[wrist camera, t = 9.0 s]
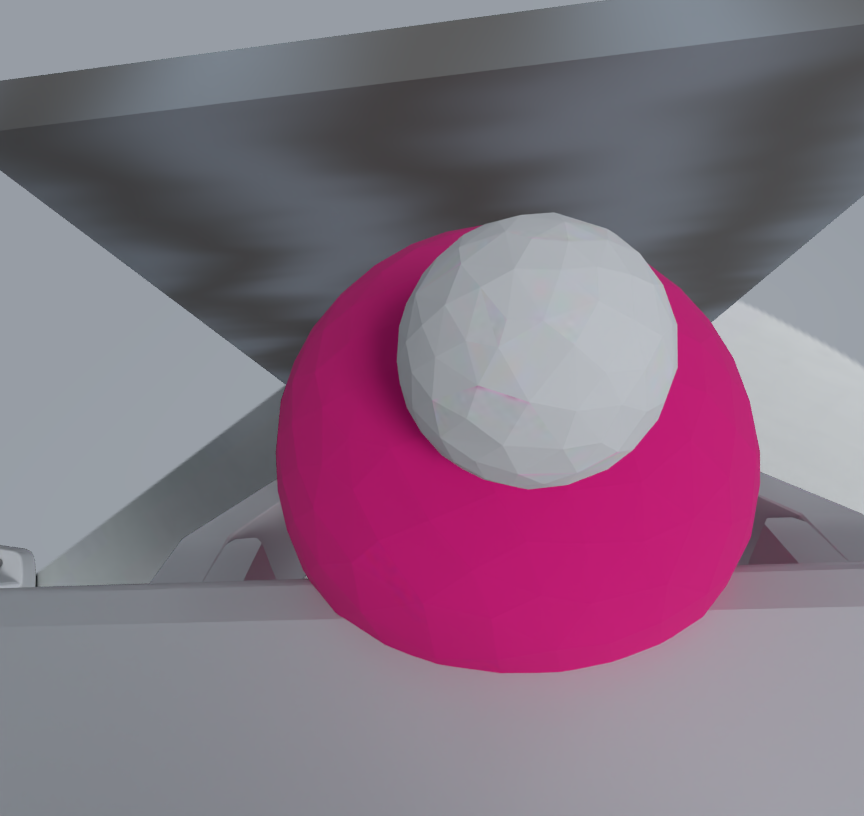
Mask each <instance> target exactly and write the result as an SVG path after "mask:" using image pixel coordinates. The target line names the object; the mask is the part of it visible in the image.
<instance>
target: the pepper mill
mask: <svg viewBox="0 0 864 816" xmlns="http://www.w3.org/2000/svg"><path fill="white" fill-rule="evenodd" d="M276 466H277V487H278V494H279V498H280V503H281V507H282V511H283V515H284V520H285V524H286V528H287V531H288V534H289V536H290V539H291V541H292V544H293V546H294V549H295V551H296V554H297V556H298V559H299V561H300V564H301V566H302V569H303V571H304V572H305V574H306V576H307V577H308V579H309V580H310V582H311V583H312V584H313V586H314V587H315V588H316V589H317V591H318V592H319V593H320V594H321V596H322V597H323V598H324V599H325V600H326V602H327V603H328V604H329V605H330V607H331V608H332V609H333V610H334V612H335V613H337V614H338V615H339V616H341V617H343V618H344V619H346V620H348V621H349V622H351V623H352V624H354V625H355V626H357V627H358V628H360V629H361V630H363V631H365V632H366V633H368V634H369V635H371V636H372V637H374V638H375V639H377V640H378V641H380V642H381V643H383V644H385V645H387V646H389V647H392V648H394V649H396V650H399V651H401V652H404V653H406V654H409V655H412V656H415V657H418V658H421V659H424V660H427V661H430V662H433V663H436V664H440V665H446V666H452V667H459V668H466V669H473V670H481V671H488V672H495V673H549V672H564V671H570V670H576V669H581V668H586V667H591V666H595V665H600V664H605V663H610V662H613V661H616V660H619V659H622V658H625V657H628V656H631V655H633V654H636V653H638V652H641V651H644V650H646V649H649V648H651V647H654V646H656V645H659V644H661V643H663V642H665V641H666V640H668V639H670V638H672V637H673V636H675V635H676V634H678V633H679V632H681V631H682V630H684V629H685V628H687V627H688V626H690V625H691V624H693V623H694V622H696V621H698V620H699V619H701V618H702V617H703V616H704V615H705V614H706V612H707V611H708V610H709V608H710V607H711V606H712V604H713V603H714V602H715V600H716V599H717V598H718V596H719V595H720V594H721V592H722V591H723V590H724V588H725V587H726V586H727V584H728V582H729V580H730V578H731V576H732V574H733V572H734V570H735V568H736V566H737V564H738V562H739V560H740V558H741V556H742V554H743V552H744V550H745V548H746V546H747V544H748V542H749V540H750V538H751V534H752V528H753V523H754V517H755V511H756V505H757V499H758V493H759V488H760V450H759V445H758V440H757V435H756V430H755V425H754V421H753V416H752V411H751V406H750V401H749V398H748V396H747V393H746V390H745V388H744V385H743V382H742V380H741V377H740V375H739V372H738V369H737V367H736V364H735V361H734V359H733V357H732V355H731V354H730V352H729V350H728V349H727V347H726V346H725V344H724V342H723V341H722V339H721V338H720V336H719V335H718V333H717V331H716V330H715V328H714V327H713V325H712V323H711V322H710V320H709V319H708V318H707V317H706V316H705V315H704V313H703V312H702V311H701V310H700V309H699V308H698V307H697V306H696V305H695V304H694V303H693V301H692V300H691V299H690V298H689V297H688V296H687V295H686V294H685V293H684V292H683V291H682V289H681V288H680V287H678V286H677V285H676V284H674V283H673V282H672V281H670V280H669V279H668V278H666V277H665V276H664V275H662V274H661V273H660V272H658V271H657V270H656V269H654V268H653V267H652V266H650V265H649V264H648V263H647V262H646V261H645V260H644V258H643V257H642V256H641V254H640V253H639V252H638V251H636V250H635V249H634V248H633V247H631V246H630V245H629V244H628V243H626V242H625V241H624V240H623V239H621V238H620V237H619V236H618V235H616V234H615V233H613V232H612V231H610V230H608V229H606V228H603V227H600V226H597V225H594V224H590V223H587V222H584V221H581V220H577V219H574V218H571V217H568V216H564V215H561V214H558V213H555V212H552V213H539V214H526V215H518V216H514V217H511V218H507V219H503V220H499V221H495V222H491V223H487V224H484V225H480V226H475V227H469V228H464V229H459V230H453V231H448V232H444V233H441V234H439V235H436V236H433V237H430V238H427V239H425V240H422V241H419V242H416V243H413V244H411V245H409V246H407V247H406V248H404V249H402V250H400V251H399V252H397V253H395V254H393V255H392V256H390V257H388V258H386V259H385V260H383V261H381V262H380V263H378V264H376V265H375V266H373V267H372V268H371V269H370V270H369V271H367V272H366V273H365V274H364V275H363V276H361V277H360V278H359V279H358V280H357V281H355V282H354V283H353V284H352V285H351V286H349V287H348V288H347V289H346V290H345V291H343V292H342V293H341V294H340V296H339V297H338V298H337V299H336V300H335V301H334V303H333V304H332V305H331V306H330V307H329V309H328V310H327V311H326V312H325V313H324V315H323V316H322V317H321V318H320V319H319V321H318V322H317V323H316V324H315V325H314V326H313V328H312V330H311V331H310V333H309V335H308V337H307V339H306V341H305V343H304V344H303V346H302V348H301V350H300V352H299V354H298V356H297V357H296V359H295V361H294V364H293V367H292V369H291V372H290V375H289V378H288V381H287V384H286V387H285V390H284V393H283V396H282V399H281V405H280V415H279V425H278V435H277V445H276Z"/></svg>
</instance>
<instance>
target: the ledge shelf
mask: <svg viewBox="0 0 864 816" xmlns="http://www.w3.org/2000/svg"><path fill="white" fill-rule="evenodd" d="M0 170H1V171H2V172H3V173H5V174H6V175H7V176H9V177H10V178H11V179H13V180H14V181H15V182H17V183H18V184H19V185H21V186H22V187H23V188H25V189H26V190H27V191H29V192H30V193H31V194H33V195H34V196H35V197H37V198H38V199H39V200H41V201H42V202H43V203H45V204H46V205H47V206H49V207H50V208H51V209H53V210H54V211H55V212H57V213H58V214H59V215H61V216H62V217H63V218H65V219H66V220H67V221H69V222H70V223H71V224H73V225H74V226H75V227H77V228H78V229H79V230H81V231H82V232H83V233H85V234H86V235H87V236H89V237H90V238H91V239H93V240H94V241H95V242H97V243H98V244H100V245H101V246H102V247H103V248H105V249H106V250H107V251H109V252H110V253H112V254H113V255H114V256H115V257H117V258H118V259H119V260H121V261H122V262H123V263H125V264H126V265H127V266H129V267H130V268H131V269H133V270H134V271H135V272H137V273H138V274H140V275H141V276H142V277H143V278H145V279H146V280H147V281H149V282H150V283H151V284H153V285H154V286H155V287H157V288H158V289H159V290H161V291H162V292H163V293H165V294H166V295H167V296H169V297H170V298H171V299H173V300H174V301H175V302H177V303H178V304H179V305H181V306H182V307H183V308H185V309H186V310H187V311H189V312H190V313H191V314H193V315H194V316H195V317H197V318H198V319H199V320H201V321H202V322H203V323H205V324H206V325H207V326H209V327H210V328H211V329H213V330H214V331H215V332H217V333H218V334H219V335H221V336H222V337H223V338H225V339H226V340H227V341H229V342H230V343H231V344H233V345H234V346H235V347H237V348H238V349H239V350H241V351H242V352H243V353H245V354H246V355H247V356H249V357H250V358H251V359H253V360H254V361H255V362H257V363H258V364H259V365H261V366H262V367H263V368H265V369H266V370H267V371H269V372H270V373H271V374H273V375H274V376H275V377H277V378H278V379H279V380H281V381H282V382H283V383H285V384H287V381H288V378H289V375H290V372H291V369H292V367H293V364H294V361H295V359H296V357H297V356H298V354H299V352H300V350H301V348H302V346H303V344H304V343H305V341H306V339H307V337H308V335H309V333H310V331H311V330H312V328H313V326H314V325H315V324H316V323H317V322H318V321H319V319H320V318H321V317H322V316H323V315H324V313H325V312H326V311H327V310H328V309H329V307H330V306H331V305H332V304H333V303H334V301H335V300H336V299H337V298H338V297H339V296H340V294H341V293H342V292H343V291H345V290H346V289H347V288H348V287H349V286H351V285H352V284H353V283H354V282H355V281H357V280H358V279H359V278H360V277H361V276H363V275H364V274H365V273H366V272H367V271H369V270H370V269H371V268H372V267H373V266H375V265H376V264H378V263H380V262H381V261H383V260H385V259H386V258H388V257H390V256H392V255H393V254H395V253H397V252H399V251H400V250H402V249H404V248H406V247H407V246H409V245H411V244H413V243H416V242H419V241H422V240H425V239H427V238H430V237H433V236H436V235H439V234H441V233H444V232H448V231H453V230H459V229H464V228H469V227H475V226H480V225H484V224H487V223H491V222H495V221H499V220H503V219H507V218H511V217H514V216H518V215H526V214H539V213H552V212H555V213H558V214H561V215H564V216H568V217H571V218H574V219H577V220H581V221H584V222H587V223H590V224H594V225H597V226H600V227H603V228H606V229H608V230H610V231H612V232H613V233H615V234H616V235H618V236H619V237H620V238H621V239H623V240H624V241H625V242H626V243H628V244H629V245H630V246H631V247H633V248H634V249H635V250H636V251H638V252H639V253H640V254H641V256H642V257H643V258H644V260H645V261H646V262H647V263H648V264H649V265H650V266H652V267H653V268H654V269H656V270H657V271H658V272H660V273H661V274H662V275H664V276H665V277H666V278H668V279H669V280H670V281H672V282H673V283H674V284H676V285H677V286H678V287H680V288H681V289H682V291H683V292H684V293H685V294H686V295H687V296H688V297H689V298H690V299H691V300H692V301H693V303H694V304H695V305H696V306H697V307H698V308H699V309H700V310H701V311H702V312H703V313H704V315H705V316H706V317H707V318H708V319H709V320H710V322H712V321H714V320H715V319H716V318H717V317H718V316H719V315H721V314H722V313H723V312H724V311H725V310H727V309H728V308H729V307H730V306H731V305H733V304H734V303H735V302H736V301H737V300H739V299H740V298H741V297H742V296H743V295H744V294H746V293H747V292H748V291H749V290H751V289H752V288H753V287H754V286H755V285H757V284H758V283H759V282H760V281H761V280H763V279H764V278H765V277H766V276H767V275H769V274H770V273H771V272H772V271H773V270H775V269H776V268H777V267H778V266H779V265H781V264H782V263H783V262H784V261H785V260H786V259H788V258H789V257H790V256H791V255H792V254H794V253H795V252H796V251H797V250H798V249H800V248H801V247H802V246H803V245H804V244H806V243H807V242H808V241H809V240H810V239H812V238H813V237H814V236H815V235H816V234H817V233H819V232H820V231H821V230H822V229H824V228H825V227H826V226H827V225H828V224H830V223H831V222H832V221H833V220H834V219H835V218H837V217H838V216H839V215H840V214H842V213H843V212H844V211H845V210H846V209H848V208H849V207H850V206H851V205H852V204H854V203H855V202H856V201H857V200H858V199H859V198H861V197H862V196H863V195H864V0H605V1H597V2H590V3H582V4H575V5H567V6H560V7H552V8H545V9H537V10H530V11H522V12H515V13H508V14H500V15H492V16H484V17H477V18H469V19H462V20H455V21H447V22H440V23H432V24H425V25H417V26H409V27H402V28H394V29H387V30H380V31H372V32H364V33H357V34H349V35H341V36H334V37H327V38H319V39H311V40H304V41H297V42H290V43H281V44H274V45H266V46H259V47H251V48H244V49H236V50H228V51H222V52H214V53H206V54H199V55H191V56H183V57H176V58H168V59H161V60H153V61H146V62H139V63H131V64H124V65H116V66H108V67H101V68H93V69H85V70H79V71H70V72H63V73H55V74H48V75H41V76H33V77H26V78H18V79H10V80H3V81H0Z"/></svg>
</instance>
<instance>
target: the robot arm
mask: <svg viewBox="0 0 864 816" xmlns="http://www.w3.org/2000/svg"><path fill="white" fill-rule="evenodd" d="M35 571H36V569H35V559H34V556H33V554H32V552H31V551H29V550H27V549H23V548H16V547H9V546H2V545H0V816H864V515H862V514H861V513H859V512H857V511H854V510H852V509H849V508H847V507H844V506H842V505H840V504H837V503H835V502H832V501H830V500H827V499H825V498H823V497H820V496H818V495H815V494H813V493H810V492H808V491H806V490H803V489H801V488H798V487H796V486H793V485H791V484H789V483H786V482H784V481H781V480H779V479H776V478H774V477H772V476H769V475H767V474H764V473H762V472H760V488H759V493H758V499H757V505H756V511H755V517H754V523H753V528H752V534H751V538H750V540H749V542H748V544H747V546H746V548H745V550H744V552H743V554H742V556H741V558H740V560H739V562H738V564H737V566H736V568H735V570H734V572H733V574H732V576H731V578H730V580H729V582H728V584H727V586H726V587H725V588H724V590H723V591H722V592H721V594H720V595H719V596H718V598H717V599H716V600H715V602H714V603H713V604H712V606H711V607H710V608H709V610H708V611H707V612H706V614H705V615H704V616H703V617H702V618H701V619H699V620H698V621H696V622H694V623H693V624H691V625H690V626H688V627H687V628H685V629H684V630H682V631H681V632H679V633H678V634H676V635H675V636H673V637H672V638H670V639H668V640H666V641H665V642H663V643H661V644H659V645H656V646H654V647H651V648H649V649H646V650H644V651H641V652H638V653H636V654H633V655H631V656H628V657H625V658H622V659H619V660H616V661H613V662H610V663H605V664H600V665H595V666H591V667H586V668H581V669H576V670H570V671H564V672H549V673H495V672H488V671H481V670H473V669H466V668H459V667H452V666H446V665H440V664H436V663H433V662H430V661H427V660H424V659H421V658H418V657H415V656H412V655H409V654H406V653H404V652H401V651H399V650H396V649H394V648H392V647H389V646H387V645H385V644H383V643H381V642H380V641H378V640H377V639H375V638H374V637H372V636H371V635H369V634H368V633H366V632H365V631H363V630H361V629H360V628H358V627H357V626H355V625H354V624H352V623H351V622H349V621H348V620H346V619H344V618H343V617H341V616H339V615H338V614H337V613H335V612H334V610H333V609H332V608H331V607H330V605H329V604H328V603H327V602H326V600H325V599H324V598H323V597H322V596H321V594H320V593H319V592H318V591H317V589H316V588H315V587H314V586H313V584H312V583H311V582H310V580H309V579H303V578H304V577H305V576H306V574H305V572H304V571H303V569H302V566H301V564H300V561H299V559H298V556H297V554H296V551H295V549H294V546H293V544H292V541H291V539H290V536H289V534H288V531H287V528H286V524H285V520H284V515H283V511H282V507H281V503H280V498H279V494H278V487H277V479H276V480H274V481H273V482H271V483H270V484H268V485H266V486H265V487H263V488H262V489H260V490H259V491H257V492H255V493H254V494H252V495H251V496H249V497H247V498H246V499H244V500H243V501H241V502H240V503H238V504H236V505H235V506H233V507H232V508H230V509H229V510H227V511H225V512H224V513H222V514H221V515H219V516H218V517H216V518H214V519H213V520H211V521H210V522H208V523H207V524H205V525H203V526H202V527H200V528H199V529H197V530H196V531H194V532H192V533H191V534H189V535H188V536H186V537H185V538H183V539H182V540H181V541H180V543H179V544H178V545H177V547H176V548H175V549H174V551H173V552H172V553H171V555H170V556H169V558H168V559H167V560H166V562H165V563H164V564H163V566H162V567H161V568H160V570H159V571H158V573H157V574H156V575H155V577H154V578H153V579H152V581H151V582H150V584H119V585H87V586H54V587H35V582H36V572H35Z"/></svg>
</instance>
